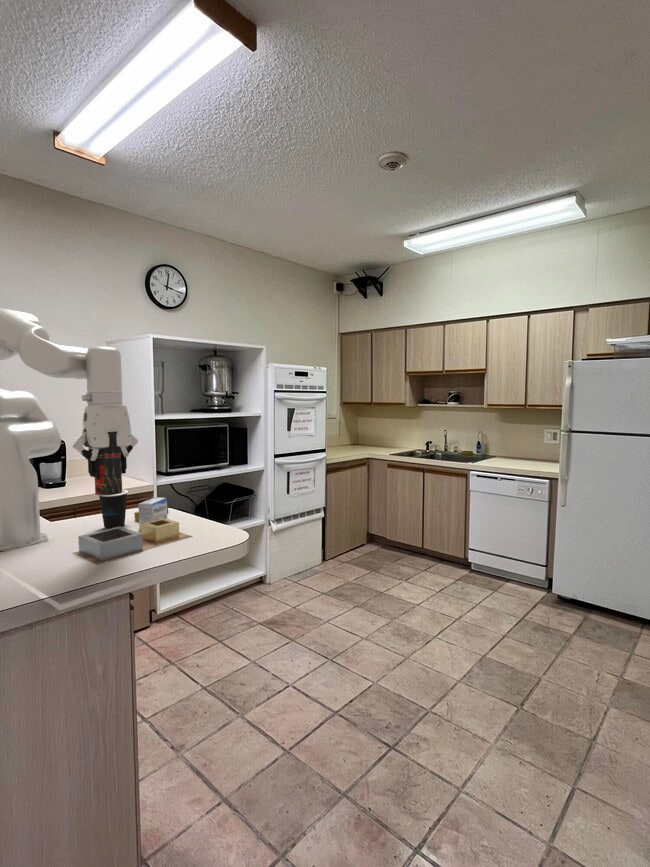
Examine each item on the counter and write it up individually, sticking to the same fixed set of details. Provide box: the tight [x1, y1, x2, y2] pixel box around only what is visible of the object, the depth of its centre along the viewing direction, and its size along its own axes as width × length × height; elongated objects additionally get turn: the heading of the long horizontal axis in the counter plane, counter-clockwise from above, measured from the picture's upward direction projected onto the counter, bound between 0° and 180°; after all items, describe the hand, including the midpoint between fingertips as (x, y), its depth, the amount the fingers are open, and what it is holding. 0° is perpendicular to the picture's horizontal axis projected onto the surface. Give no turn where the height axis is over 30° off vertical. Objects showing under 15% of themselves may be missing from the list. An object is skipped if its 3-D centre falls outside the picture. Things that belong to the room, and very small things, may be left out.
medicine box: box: [137, 497, 168, 531], centre depth 135 cm, size 8×4×9 cm, turn 168°
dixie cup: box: [98, 489, 129, 529], centre depth 135 cm, size 8×8×11 cm
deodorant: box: [94, 431, 123, 496], centre depth 112 cm, size 6×6×15 cm
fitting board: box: [72, 531, 194, 565], centre depth 119 cm, size 12×26×1 cm, turn 142°
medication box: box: [134, 503, 169, 523], centre depth 146 cm, size 12×3×4 cm, turn 157°
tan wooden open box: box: [140, 518, 180, 543], centre depth 125 cm, size 7×7×4 cm
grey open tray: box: [78, 526, 143, 562], centre depth 114 cm, size 10×10×4 cm
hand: (108, 474), depth 113 cm, fingers closed on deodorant, 5 cm apart
